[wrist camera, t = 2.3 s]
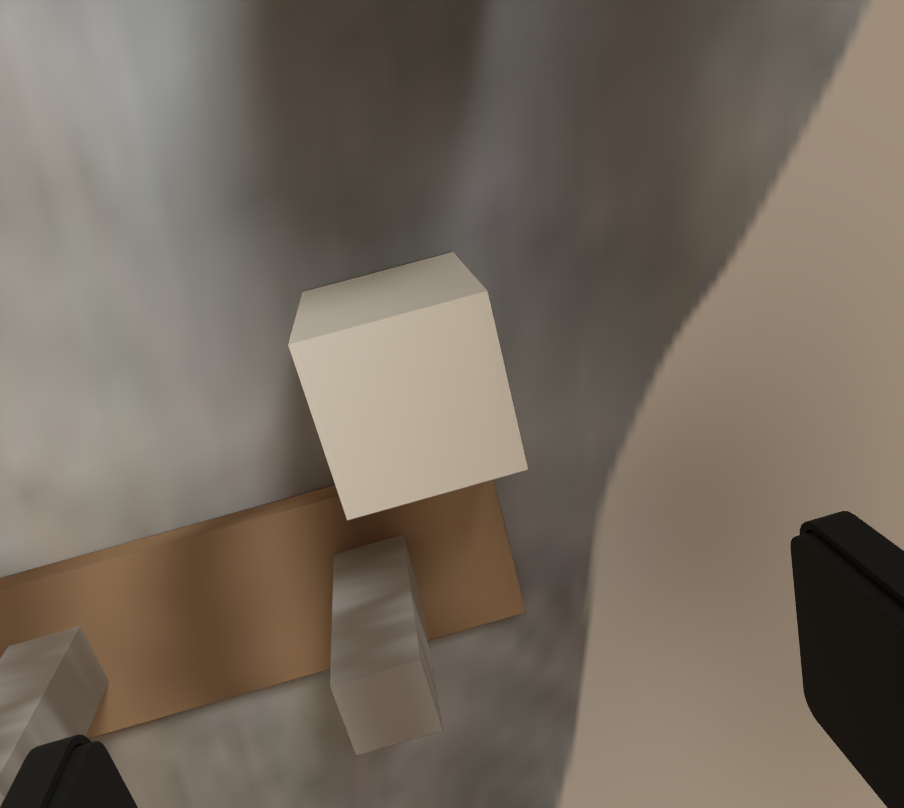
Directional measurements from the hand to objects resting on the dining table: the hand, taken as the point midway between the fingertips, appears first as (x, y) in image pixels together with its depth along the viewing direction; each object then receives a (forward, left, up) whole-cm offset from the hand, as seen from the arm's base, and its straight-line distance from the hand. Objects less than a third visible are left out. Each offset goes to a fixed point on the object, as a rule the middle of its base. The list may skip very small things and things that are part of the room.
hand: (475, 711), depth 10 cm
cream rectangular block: (0, 0, -17) cm, 17 cm away
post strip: (+9, +8, -17) cm, 21 cm away
